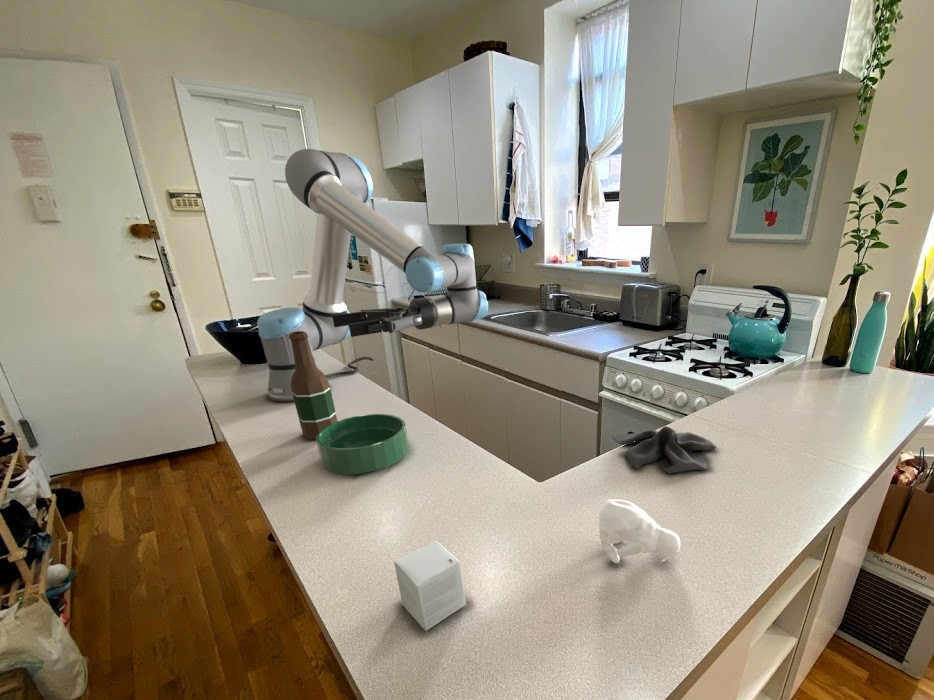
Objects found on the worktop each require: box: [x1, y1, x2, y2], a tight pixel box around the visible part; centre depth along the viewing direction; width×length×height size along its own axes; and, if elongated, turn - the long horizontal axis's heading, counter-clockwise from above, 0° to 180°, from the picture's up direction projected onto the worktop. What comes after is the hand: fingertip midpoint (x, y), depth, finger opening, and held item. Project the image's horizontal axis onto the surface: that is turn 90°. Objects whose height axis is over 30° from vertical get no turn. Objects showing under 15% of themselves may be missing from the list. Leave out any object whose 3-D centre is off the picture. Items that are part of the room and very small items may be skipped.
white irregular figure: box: [598, 499, 681, 564], centre depth 67 cm, size 6×8×12 cm
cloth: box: [611, 425, 717, 474], centre depth 97 cm, size 22×19×6 cm
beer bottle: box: [289, 331, 338, 441], centre depth 104 cm, size 8×8×24 cm
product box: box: [393, 540, 467, 632], centre depth 59 cm, size 6×6×7 cm
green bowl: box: [315, 413, 410, 475], centre depth 97 cm, size 17×17×6 cm
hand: (341, 325), depth 104 cm, fingers open, 13 cm apart
